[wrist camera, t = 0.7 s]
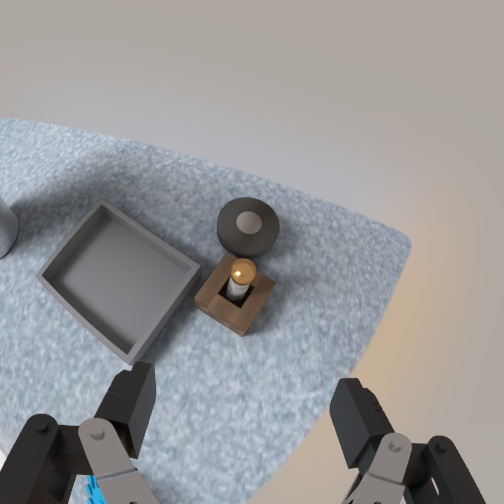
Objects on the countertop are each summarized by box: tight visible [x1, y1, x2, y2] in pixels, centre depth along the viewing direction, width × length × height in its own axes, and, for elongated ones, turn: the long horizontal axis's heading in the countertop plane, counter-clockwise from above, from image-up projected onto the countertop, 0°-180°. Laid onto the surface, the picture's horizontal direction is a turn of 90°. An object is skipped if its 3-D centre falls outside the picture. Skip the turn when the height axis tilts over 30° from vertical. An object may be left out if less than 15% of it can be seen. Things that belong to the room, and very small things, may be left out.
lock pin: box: [225, 258, 256, 306], centre depth 32 cm, size 2×2×10 cm
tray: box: [35, 198, 201, 366], centre depth 34 cm, size 18×15×4 cm
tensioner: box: [194, 197, 280, 337], centre depth 37 cm, size 11×16×5 cm
